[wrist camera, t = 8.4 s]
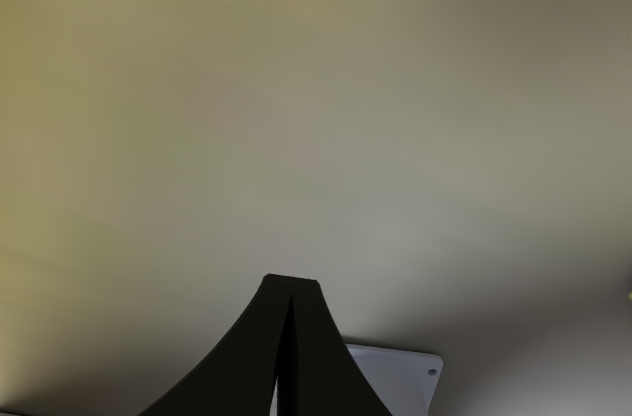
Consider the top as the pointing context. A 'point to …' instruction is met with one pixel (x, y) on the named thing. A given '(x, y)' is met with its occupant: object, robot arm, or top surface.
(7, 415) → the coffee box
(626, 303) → the top surface
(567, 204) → the top surface
